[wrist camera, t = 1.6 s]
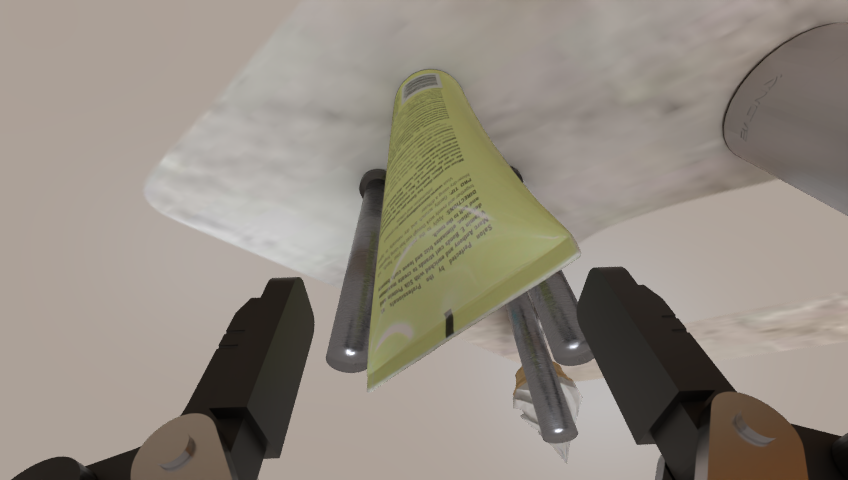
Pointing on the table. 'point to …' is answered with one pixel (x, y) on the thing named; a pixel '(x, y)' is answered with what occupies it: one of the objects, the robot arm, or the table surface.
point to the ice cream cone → (525, 404)
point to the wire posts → (548, 299)
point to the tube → (450, 229)
